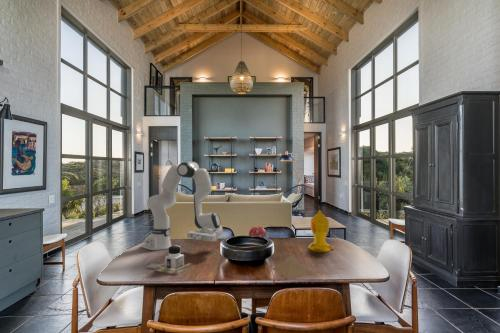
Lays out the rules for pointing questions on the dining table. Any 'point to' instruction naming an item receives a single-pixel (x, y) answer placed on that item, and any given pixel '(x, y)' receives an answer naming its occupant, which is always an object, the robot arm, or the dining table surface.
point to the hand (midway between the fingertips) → (194, 238)
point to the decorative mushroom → (257, 231)
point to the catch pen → (173, 271)
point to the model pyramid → (291, 268)
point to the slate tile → (152, 266)
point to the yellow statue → (319, 233)
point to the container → (174, 258)
